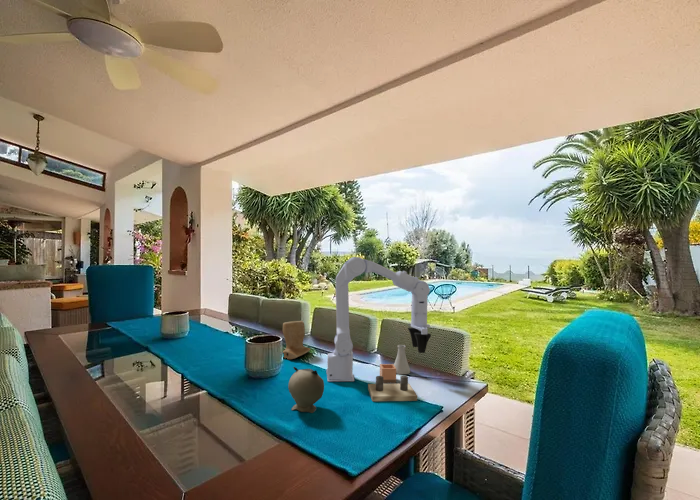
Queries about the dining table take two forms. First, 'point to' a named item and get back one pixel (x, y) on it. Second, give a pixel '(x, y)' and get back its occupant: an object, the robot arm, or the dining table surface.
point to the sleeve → (388, 373)
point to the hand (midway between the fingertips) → (418, 349)
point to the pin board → (392, 390)
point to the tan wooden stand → (294, 339)
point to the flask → (401, 361)
